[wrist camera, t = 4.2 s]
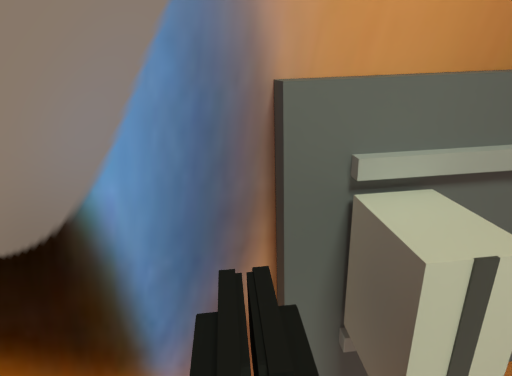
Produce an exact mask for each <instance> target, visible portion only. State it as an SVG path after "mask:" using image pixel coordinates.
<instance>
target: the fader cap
mask: <svg viewBox="0 0 512 376" xmlns="http://www.w3.org/2000/svg"><path fill="white" fill-rule="evenodd" d="M344 326H345V328H346V330H347V332H348V334H349V336H350V338H351V340H352V343H353V345H354V347H355V349H356V351H357V353H358V355H359V357H360V359H361V361H362V363H363V366H364V368H365V370H366V372H367V374H368V376H504V374H505V371H506V368H507V365H508V362H509V359H510V356H511V353H512V234H510V233H508V232H507V231H505V230H503V229H501V228H500V227H498V226H496V225H494V224H493V223H491V222H489V221H487V220H486V219H484V218H482V217H480V216H479V215H477V214H475V213H473V212H472V211H470V210H468V209H466V208H464V207H463V206H461V205H459V204H457V203H456V202H454V201H452V200H450V199H449V198H447V197H445V196H443V195H442V194H440V193H438V192H436V191H435V190H433V189H427V190H413V191H399V192H385V193H372V194H358V195H354V198H353V211H352V224H351V237H350V250H349V263H348V276H347V288H346V301H345V314H344Z"/></svg>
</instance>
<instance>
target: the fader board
mask: <svg viewBox="0 0 512 376" xmlns="http://www.w3.org/2000/svg"><path fill="white" fill-rule="evenodd" d="M274 116H275V180H276V243H277V303H278V306H283V305H293V304H296V305H297V308H298V310H299V313H300V317H301V320H302V323H303V326H304V329H305V332H306V336H307V339H308V342H309V345H310V348H311V351H312V354H313V358H314V361H315V364H316V367H317V370H318V373H319V376H368V374H367V372H366V370H365V368H364V366H363V363H362V361H361V359H360V357H359V355H358V353H357V351H356V349H355V347H354V345H353V343H352V340H351V338H350V336H349V334H348V332H347V330H346V328H345V326H344V314H345V301H346V288H347V276H348V263H349V250H350V237H351V224H352V211H353V198H354V195H358V194H372V193H385V192H399V191H413V190H427V189H433V190H435V191H436V192H438V193H440V194H442V195H443V196H445V197H447V198H449V199H450V200H452V201H454V202H456V203H457V204H459V205H461V206H463V207H464V208H466V209H468V210H470V211H472V212H473V213H475V214H477V215H479V216H480V217H482V218H484V219H486V220H487V221H489V222H491V223H493V224H494V225H496V226H498V227H500V228H501V229H503V230H505V231H507V232H508V233H510V234H512V70H492V71H468V72H444V73H420V74H397V75H373V76H349V77H325V78H301V79H278V80H274ZM509 361H512V353H511V356H510V359H509Z"/></svg>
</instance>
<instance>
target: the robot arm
mask: <svg viewBox="0 0 512 376" xmlns="http://www.w3.org/2000/svg"><path fill="white" fill-rule="evenodd" d="M252 271H253V272H247V290H248V309H249V328H250V343H251V353H252V363H253V372H254V376H319V373H318V370H317V367H316V364H315V361H314V358H313V354H312V351H311V348H310V345H309V342H308V339H307V336H306V332H305V329H304V326H303V323H302V320H301V317H300V313H299V310H298V308H297V305H296V304H293V305H283V306H278V303H277V299H276V295H275V291H274V286H273V282H272V278H271V274H270V270H269V266H263V267H253V268H252ZM190 376H251V368H250V357H249V347H248V336H247V326H246V315H245V304H244V294H243V283H242V273H235V269H229V270H219V283H218V312H212V313H202V314H197V315H196V322H195V331H194V340H193V350H192V359H191V369H190Z"/></svg>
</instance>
